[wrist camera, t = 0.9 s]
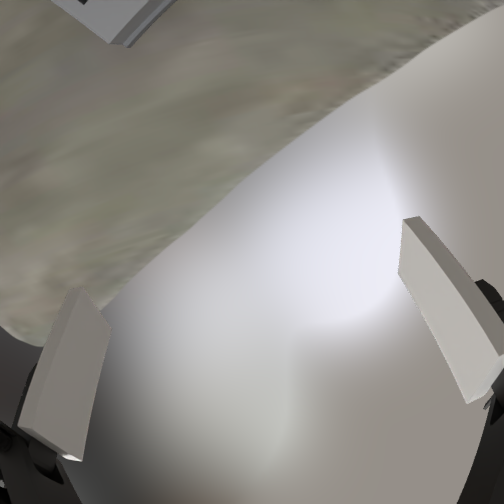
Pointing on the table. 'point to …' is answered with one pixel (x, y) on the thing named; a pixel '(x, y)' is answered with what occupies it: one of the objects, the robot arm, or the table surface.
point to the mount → (116, 17)
